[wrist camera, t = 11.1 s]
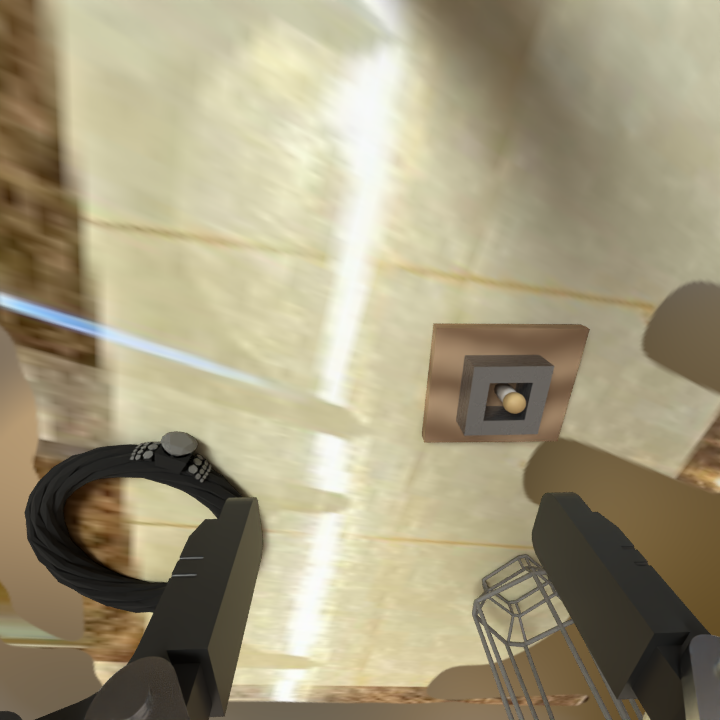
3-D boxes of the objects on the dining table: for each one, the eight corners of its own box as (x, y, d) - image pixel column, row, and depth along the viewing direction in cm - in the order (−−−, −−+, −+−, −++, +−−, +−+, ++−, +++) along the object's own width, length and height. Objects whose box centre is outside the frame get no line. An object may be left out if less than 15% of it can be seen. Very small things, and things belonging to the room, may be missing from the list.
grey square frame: (464, 355, 37) (474, 366, 35) (538, 354, 38) (554, 366, 35) (455, 420, 40) (464, 435, 38) (524, 419, 41) (537, 434, 38)
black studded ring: (3, 590, 45) (32, 404, 35) (28, 562, 49) (61, 386, 39) (216, 638, 51) (293, 490, 41) (224, 611, 55) (297, 468, 44)
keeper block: (433, 323, 37) (448, 342, 32) (580, 324, 38) (617, 342, 33) (421, 434, 43) (432, 465, 38) (550, 433, 44) (578, 463, 38)
